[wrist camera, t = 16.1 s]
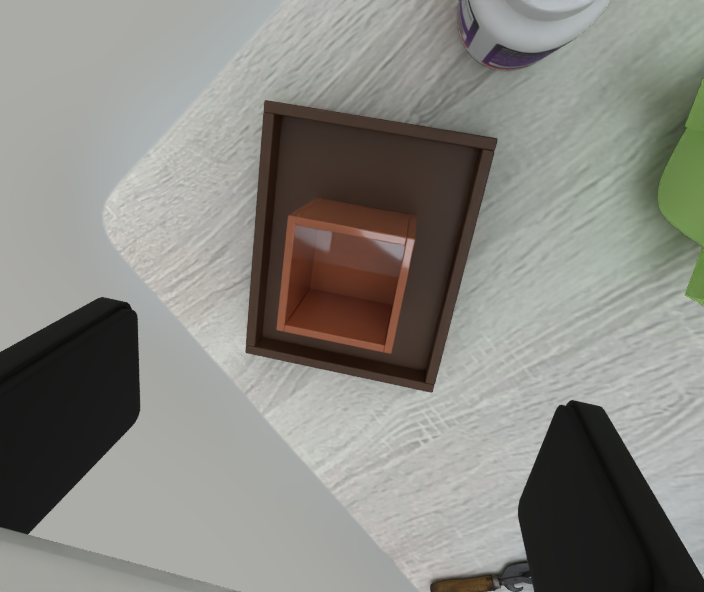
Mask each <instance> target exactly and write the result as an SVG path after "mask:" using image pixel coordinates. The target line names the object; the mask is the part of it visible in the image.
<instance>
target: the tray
mask: <svg viewBox="0 0 704 592" xmlns="http://www.w3.org/2000/svg"><path fill="white" fill-rule="evenodd" d="M496 144H497V138H491V137H485V136H479V135H473V134H467V133H461V132H455V131H449V130H443V129H437V128H431V127H425V126H419V125H413V124H407V123H401V122H395V121H389V120H383V119H376V118H370V117H364V116H358V115H352V114H346V113H340V112H334V111H328V110H322V109H316V108H310V107H304V106H298V105H292V104H286V103H280V102H274V101H267V100H265V102H264V114H263V127H262V140H261V154H260V167H259V180H258V193H257V206H256V219H255V233H254V246H253V259H252V272H251V285H250V299H249V312H248V325H247V338H246V353H249V354H254V355H258V356H263V357H268V358H272V359H277V360H282V361H286V362H291V363H296V364H301V365H305V366H310V367H315V368H319V369H324V370H329V371H333V372H338V373H343V374H347V375H352V376H357V377H361V378H366V379H371V380H375V381H380V382H385V383H389V384H394V385H399V386H403V387H408V388H413V389H417V390H422V391H427V392H433V389H434V384H435V381H436V377H437V373H438V370H439V366H440V362H441V358H442V354H443V350H444V346H445V342H446V338H447V335H448V331H449V327H450V323H451V319H452V315H453V311H454V307H455V303H456V300H457V296H458V292H459V288H460V284H461V280H462V276H463V272H464V268H465V265H466V261H467V257H468V253H469V249H470V245H471V241H472V237H473V233H474V230H475V226H476V222H477V218H478V214H479V210H480V206H481V202H482V198H483V195H484V191H485V187H486V183H487V179H488V175H489V171H490V167H491V163H492V160H493V156H494V150H495V148H496ZM316 197H319V198H325V199H330V200H336V201H341V202H347V203H352V204H358V205H363V206H369V207H374V208H380V209H385V210H391V211H396V212H402V213H407V214H413V215H417V225H416V237H415V244H414V248H413V253H412V258H411V263H410V267H409V272H408V277H407V282H406V286H405V291H404V296H403V301H402V305H401V310H400V315H399V320H398V324H397V329H396V334H395V339H394V344H393V348H392V353H391V354H390V353H385V352H380V351H375V350H370V349H366V348H361V347H356V346H351V345H346V344H342V343H337V342H332V341H327V340H322V339H318V338H313V337H308V336H303V335H298V334H294V333H289V332H284V331H279V330H277V320H278V310H279V300H280V290H281V280H282V271H283V261H284V251H285V241H286V231H287V222H288V215H290V214H292V213H293V212H295V211H296V210H298V209H299V208H301V207H302V206H304V205H305V204H307V203H308V202H310V201H311V200H313V199H314V198H316Z"/></svg>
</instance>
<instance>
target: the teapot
mask: <svg viewBox="0 0 704 592" xmlns="http://www.w3.org/2000/svg"><path fill="white" fill-rule="evenodd" d="M685 126H686V127H687V129H686V130H685V132H684V134H683V135H682V137H681V139H680V141H679V142H678V144H677V146H676V148H675V150H674V151H673V153H672V155H671V157H670V159H669V161H668V163H667V165H666V167H665V170H664V172H663V175H662V177H661V180H660V183H659V188H658V205H659V208H660V211H661V213H662V214H663V215H664V217H665V218H666V219H667V220H668V222H669V223H671V224H672V225H673V226H674V227H676V228H677V229H678V230H680V231H681V232H682V233H683V234H685V235H686V236H688V237H689V238H691V239H692V240H694V241H695V242H697V243H698V244H699V245H701V246H703V247H702V249H701V252H700V255H699V257H698V260H697V263H696V266H695V268H694V271H693V274H692V277H691V279H690V282H689V285H688V287H687V290H686V293H685V295H686V296H688V297H689V298H691V299H693V300H694V301H696V302H698V303H700V304H701V305H703V306H704V78H703V80H702V83H701V85H700V88H699V90H698V93H697V96H696V98H695V101H694V103H693V106H692V109H691V111H690V114H689V116H688V119H687V122H686V124H685Z"/></svg>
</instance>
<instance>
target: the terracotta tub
mask: <svg viewBox="0 0 704 592" xmlns="http://www.w3.org/2000/svg"><path fill="white" fill-rule="evenodd" d="M416 225H417V215H413V214H407V213H402V212H396V211H391V210H385V209H380V208H374V207H369V206H363V205H358V204H352V203H347V202H341V201H336V200H330V199H325V198H319V197H316V198H314V199H313V200H311V201H310V202H308V203H307V204H305V205H304V206H302V207H301V208H299V209H298V210H296V211H295V212H293V213H292V214H290V215H288V222H287V231H286V241H285V251H284V261H283V271H282V280H281V290H280V300H279V310H278V320H277V330H279V331H284V332H289V333H294V334H298V335H303V336H308V337H313V338H318V339H322V340H327V341H332V342H337V343H342V344H346V345H351V346H356V347H361V348H366V349H370V350H375V351H380V352H385V353H390V354H391V353H392V348H393V344H394V339H395V334H396V329H397V324H398V320H399V315H400V310H401V305H402V301H403V296H404V291H405V286H406V282H407V277H408V272H409V267H410V263H411V258H412V253H413V248H414V244H415V237H416Z"/></svg>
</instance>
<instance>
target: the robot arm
mask: <svg viewBox="0 0 704 592" xmlns="http://www.w3.org/2000/svg"><path fill="white" fill-rule="evenodd" d="M138 352H139V351H138V318H137V314H136V312H135V311H134V310H132V308H131V306H130V304H128V303H127V302H123V301H118V300H114V299H109V298H104V297H101V298H98V299H96V300H94V301H92V302H90V303H89V304H87V305H85V306H83V307H82V308H80V309H78V310H76V311H74V312H72V313H71V314H69V315H67V316H65V317H63V318H62V319H60V320H58V321H56V322H54V323H52V324H50V325H49V326H47V327H45V328H43V329H41V330H40V331H38V332H36V333H34V334H32V335H31V336H29V337H27V338H25V339H23V340H22V341H20V342H18V343H16V344H14V345H12V346H11V347H9V348H7V349H5V350H3V351H1V352H0V592H238V591H235V590H231V589H228V588H224V587H220V586H217V585H213V584H210V583H206V582H202V581H199V580H194V579H191V578H187V577H184V576H180V575H176V574H173V573H169V572H165V571H162V570H158V569H154V568H150V567H147V566H143V565H140V564H136V563H132V562H129V561H125V560H121V559H117V558H114V557H109V556H106V555H102V554H99V553H95V552H91V551H87V550H84V549H80V548H76V547H72V546H68V545H64V544H61V543H57V542H53V541H50V540H46V539H42V538H38V537H35V536H31V535H28V534H29V533H30V531H32V530H33V529H34V528H35V526H36V525H37V524H38V523H39V522H40V521H41V520H42V519H43V518H44V517H45V516H46V515H47V514H48V513H49V512H50V511H51V510H52V509H53V508H54V507H55V506H56V505H57V504H58V503H59V501H61V500H62V498H63V497H64V496H65V495H66V494H67V493H68V492H69V491H70V490H71V489H72V488H73V487H74V486H75V485H76V484H77V483H78V482H79V481H80V480H81V479H82V478H83V476H85V475H86V473H87V472H88V471H89V470H90V469H91V468H92V467H93V466H94V465H95V464H96V463H97V462H98V461H99V460H100V459H101V458H102V457H103V456H104V455H105V454H106V452H108V451H109V449H110V448H111V447H112V446H113V445H114V444H115V443H116V442H117V441H118V440H119V439H120V438H121V437H122V436H123V435H124V434H125V433H126V432H127V431H128V430H129V429H130V428H131V427H132V425H133V424H134V423H135V422H136V420H137V418H138V416H139V412H140V387H139V386H140V383H139V353H138ZM518 518H519V523H520V528H521V532H522V537H523V542H524V546H525V551H526V555H527V560H528V565H529V569H530V574H531V578H532V583H533V588H534V592H704V579H703V577H702V575H701V574H700V572H699V570H698V569H697V567H696V565H695V563H694V562H693V560H692V558H691V557H690V555H689V553H688V552H687V550H686V548H685V546H684V545H683V543H682V541H681V540H680V538H679V536H678V535H677V533H676V531H675V529H674V528H673V526H672V524H671V523H670V521H669V519H668V518H667V516H666V514H665V512H664V511H663V509H662V507H661V506H660V504H659V502H658V500H657V499H656V497H655V495H654V494H653V492H652V490H651V489H650V487H649V485H648V483H647V482H646V480H645V478H644V477H643V475H642V473H641V472H640V470H639V468H638V466H637V465H636V463H635V461H634V460H633V458H632V456H631V455H630V453H629V451H628V449H627V448H626V446H625V444H624V443H623V441H622V439H621V438H620V436H619V434H618V432H617V431H616V429H615V427H614V426H613V424H612V422H611V421H610V419H609V417H608V415H607V414H606V412H605V410H604V409H603V408H602V407H600V406H597V405H592V404H588V403H583V402H579V401H574V400H571V401H569V402H568V403H567V405H566V406H564V405H559V406H558V407H557V409H556V411H555V414H554V416H553V419H552V421H551V424H550V426H549V428H548V431H547V433H546V436H545V438H544V441H543V443H542V446H541V448H540V451H539V453H538V456H537V458H536V461H535V463H534V466H533V468H532V471H531V473H530V476H529V478H528V481H527V483H526V486H525V488H524V491H523V493H522V496H521V498H520V501H519V506H518Z"/></svg>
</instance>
